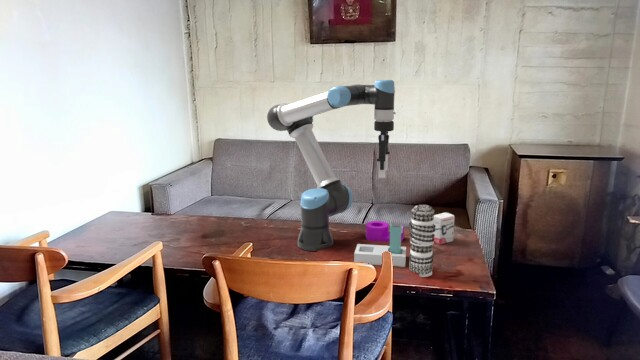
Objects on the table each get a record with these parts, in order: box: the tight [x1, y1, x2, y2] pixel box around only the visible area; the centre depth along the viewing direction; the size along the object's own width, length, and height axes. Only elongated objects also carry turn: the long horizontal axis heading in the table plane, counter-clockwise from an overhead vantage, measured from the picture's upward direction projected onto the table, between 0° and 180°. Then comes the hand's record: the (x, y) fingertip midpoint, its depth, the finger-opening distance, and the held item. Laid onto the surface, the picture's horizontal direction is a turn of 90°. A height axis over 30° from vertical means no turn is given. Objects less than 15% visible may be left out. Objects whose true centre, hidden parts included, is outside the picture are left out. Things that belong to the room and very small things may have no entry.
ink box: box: [433, 211, 456, 246], centre depth 201 cm, size 8×5×12 cm, turn 123°
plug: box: [389, 223, 404, 254], centre depth 178 cm, size 5×4×14 cm
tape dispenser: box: [365, 220, 405, 243], centre depth 206 cm, size 16×10×6 cm, turn 67°
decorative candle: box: [408, 204, 436, 278], centre depth 169 cm, size 9×9×25 cm
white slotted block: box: [353, 243, 407, 268], centre depth 181 cm, size 19×10×5 cm, turn 79°
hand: (383, 174), depth 187 cm, fingers open, 13 cm apart
